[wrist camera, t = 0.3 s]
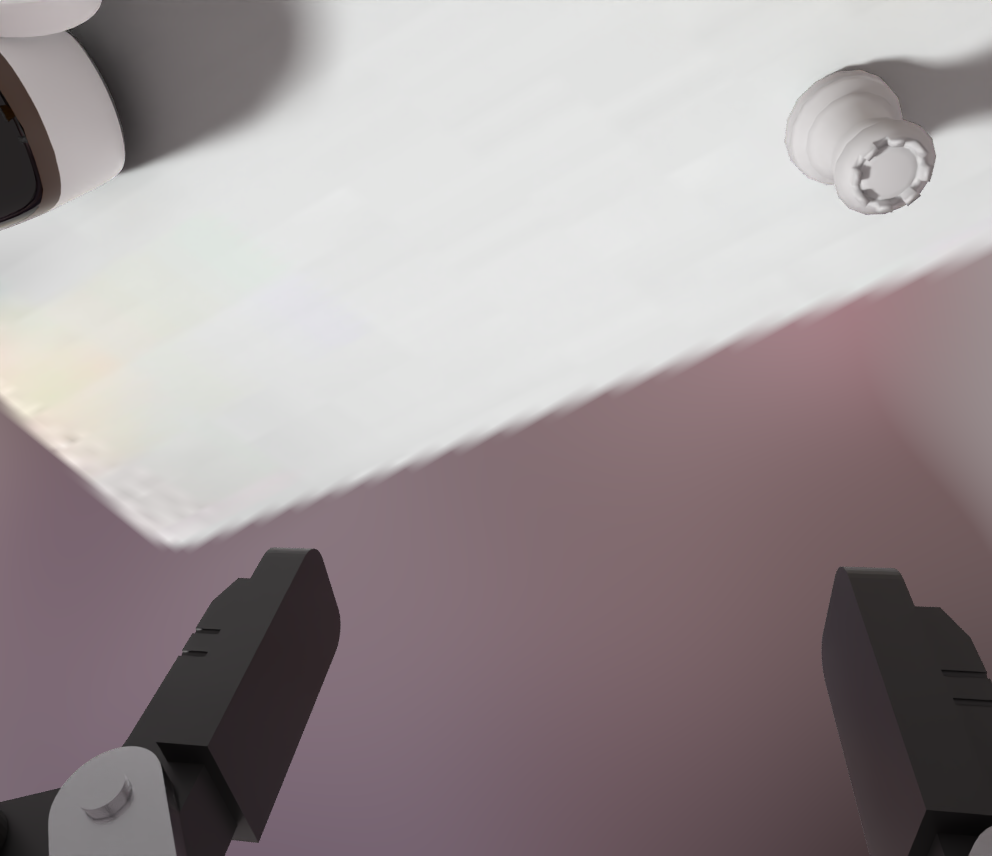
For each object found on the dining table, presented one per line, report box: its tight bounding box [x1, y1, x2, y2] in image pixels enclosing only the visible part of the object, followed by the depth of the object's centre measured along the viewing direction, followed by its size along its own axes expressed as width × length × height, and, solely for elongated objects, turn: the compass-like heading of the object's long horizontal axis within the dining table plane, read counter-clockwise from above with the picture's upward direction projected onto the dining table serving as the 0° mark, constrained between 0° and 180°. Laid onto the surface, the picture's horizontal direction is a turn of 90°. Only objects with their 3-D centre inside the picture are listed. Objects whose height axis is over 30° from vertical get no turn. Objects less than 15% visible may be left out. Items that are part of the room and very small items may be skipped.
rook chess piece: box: [784, 70, 936, 215], centre depth 28 cm, size 4×4×8 cm
